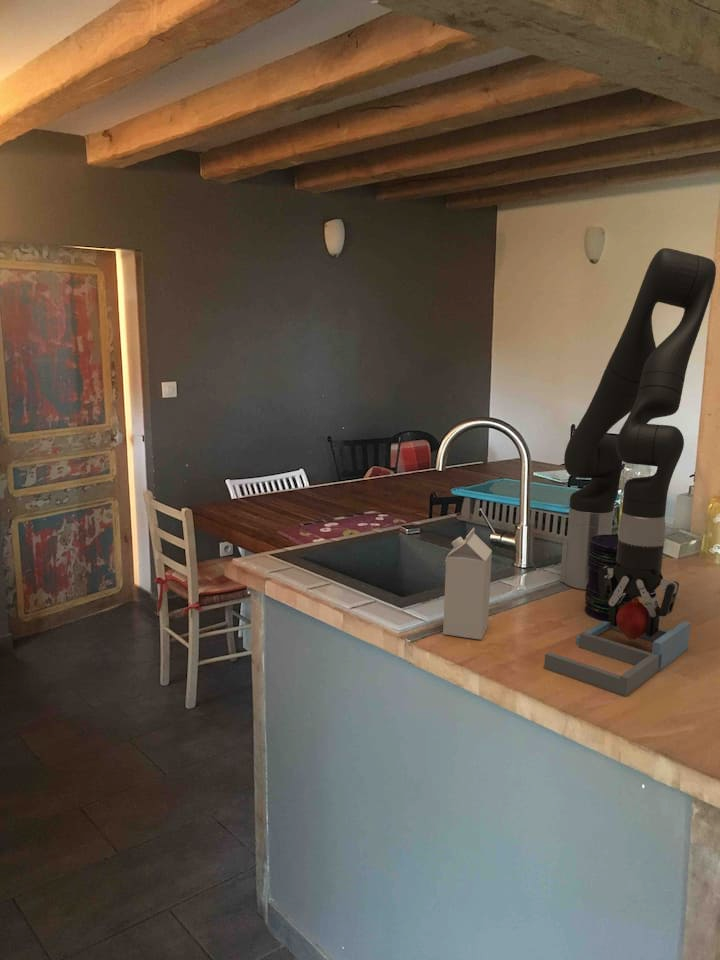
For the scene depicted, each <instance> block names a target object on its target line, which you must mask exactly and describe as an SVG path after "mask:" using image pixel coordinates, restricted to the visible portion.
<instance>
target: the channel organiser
mask: <svg viewBox="0 0 720 960" xmlns="http://www.w3.org/2000/svg"><path fill="white" fill-rule="evenodd" d="M609 629H610V630H612V631H616V632H619V633H622V634H624V633H623V632H622V631H621V630H620V629H619V627H618V625H617V626H611V622H606V621H601V622H599V623H598V624H596V625H595V626H593V627H591V628H589V629H587V630H585V631H582V632H580V633H579V635H578V636H576V637H575V644H578V648H581V649H583V650H587V651H590V652H592V653H596V654H600V655H603V656H605V657H609V658H612V659H615V660H619V661H622V662H625V663H627V664H630V665H633V666H632V667H631V668H629V669H628V670H626V671H625V672H624V673H622V674H621V675H619V674H618V673H617V674H616V673H613V672H610V671H608V670H604V669H601V668H599V667H596V666H592V665H590V664H586V663H583V662H580V661H578V660H574V659H572V658H569V657H567V656H563V655H559V654H556V653H554V652H551V651H547V652H546V653H545V654H544V664H543V668H544V669H546V670H549V671H552V672H554V673H558V674H560V675H564V676H566V677H569V678H572V679H574V680H577V681H580V682H583V683H586V684H589V685H591V686H594V687H598V688H601V689H603V690H607V691H609V692H612V693H614V694H617V695H620V696H623V697H628V695H630V694H631V693H632V692H634V691H635V690H637V689H638V688H639V687H640V686H642V685H644V684H645V683H646V682H647V681H648V680H650V679H651V678H653V676H655V675H656V674H657V673H658V672H661V670H662V669H664V668H665V667H666V666H668V665H669V664H670V663H672V662H673V661H674V660H675V659H678V657H680V656H681V655H683V653H685V652H686V651H688V650H689V641H690V640H689V639H690V632H691V622H689V621H686V620H682V621H681V622H680V623H678V624H677V625H675V626H674V627H672V628H671V629H670V630H669V629H666V628H662V627H659V628H658V631H657V633H655V634H654V635H653V636H651V637H649V636H646V633H644V634H643V635H641V636H640V637H638V638H639V639H643V640H646V641H649V642H652V652H650V651H646V650H643V649H640V648H637V647H634V646H629V645H627V644H623V643H621V642H617V641H613V640H611V639H607V638H604V637H601V636H599V635H602V634H603V633H604V632H606V631H609Z"/></svg>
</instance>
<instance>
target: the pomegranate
mask: <svg viewBox="0 0 720 960" xmlns="http://www.w3.org/2000/svg"><path fill="white" fill-rule="evenodd" d="M639 598H640V597H638V598H637V597H634V598H633V599H632V600H631V601H629V602H626V603H625V604H624V605H623V606H621V608H620V609H619V610H618V612H617V615H616V620H617V625H618V627H619V629H620V630H621V631H622V632H623V633H622V632H621V633H622V634H623V635H625V636H626V637H627V638H628V639H629V640H632V641H634V640H636V639H638V638H639V637H640V636H641V635H643V634H644V633H646V628H647V618H648V616H649V612H648V609H647V606H646V605H645V604H644V603H642V602H640V599H639Z"/></svg>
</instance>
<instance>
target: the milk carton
mask: <svg viewBox="0 0 720 960" xmlns="http://www.w3.org/2000/svg"><path fill="white" fill-rule="evenodd" d="M475 529H476V528H475V527H472V529H471V530H470V531H469V532H468V534H467V535H466V536H465V539H463V537H462V536H458V537H456V539H454V540H453V541H452V542H451V545H452V546H453V548H452V549H451V551H450V552H449V553H448V554H447V556H446V558H445V576H444V578H445V579H444V598H443V599H444V601H443V603H444V604H443V627H442V630H443V631H442V634H443V635H444V636H445V635H446V636H453V637H460V638H467V639H471V640H483V637H484V635H485V633H486V631H487V629H488V626H489V615H490V614H489V613H490V611H489V610H490V595H491V594H490V593H491V592H490V591H491V574H492V554H493V550H492V549H491V548H490V547H489V546H488V545H487V544H486V543H485V542H484V541H483V540H482V539H481V538H480V537H479V536H478V535H477V534H476V533H475Z"/></svg>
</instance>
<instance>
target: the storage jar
mask: <svg viewBox="0 0 720 960" xmlns="http://www.w3.org/2000/svg"><path fill="white" fill-rule="evenodd" d="M590 543H591V545H590V550H589V561H588V566H589V580H588V584H587V585H586V590H585V595H584V596H585V597H584V599H585V601H584V602H585V606H584V612H585V614H586V615H587V616H588V617H590V618H592V619H595V620H596V621H597V620H598V621H601V622H603V621H606V622H609V619H608V617H609V603H608V602H606V601H605V600H601V599H600V597H599V581H598V569H599V568H601V567H603V566H605V565H608V566H609V567H615V566H616V556H617V545H618V535H617V534H611V535H596V536H593V537H591V540H590ZM618 584H619V583H618V581H617V579H616V578H615V576H614V574H613V577H612V578H611V590H612V594H613V592H614V591H615V589H616V588H617V586H618ZM634 597H637V598H639V597H638V596H636V595H634V594H625V595H624V597H623V599H622V600H621V602H620V603H619V604H621V606H623V605H624V604H625V603H626V602H629V601H631V600H632V599H633V598H634ZM609 623H610V622H609Z"/></svg>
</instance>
